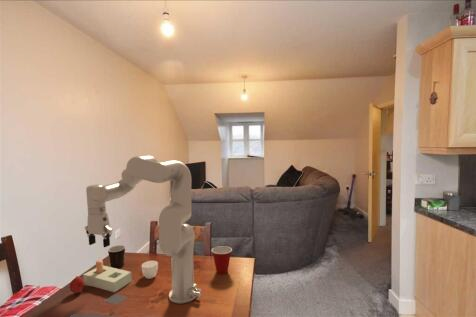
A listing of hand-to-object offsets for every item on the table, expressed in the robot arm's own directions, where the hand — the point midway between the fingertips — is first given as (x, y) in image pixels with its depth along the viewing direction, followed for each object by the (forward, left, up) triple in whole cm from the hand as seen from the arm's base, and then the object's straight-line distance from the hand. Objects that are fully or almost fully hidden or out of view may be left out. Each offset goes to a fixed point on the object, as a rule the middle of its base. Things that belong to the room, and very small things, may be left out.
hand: (99, 245), depth 124 cm
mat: (-19, +9, -18) cm, 28 cm away
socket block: (-4, 0, -18) cm, 19 cm away
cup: (-19, -13, -19) cm, 30 cm away
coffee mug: (+5, -13, -19) cm, 23 cm away
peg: (+1, 0, -18) cm, 18 cm away
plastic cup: (-51, -30, -19) cm, 62 cm away
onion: (+2, +11, -19) cm, 22 cm away
